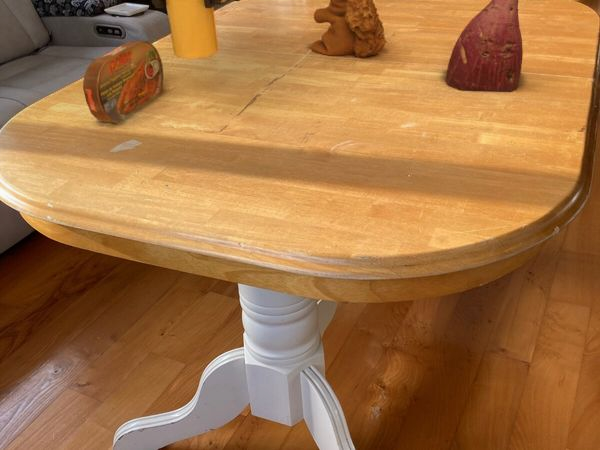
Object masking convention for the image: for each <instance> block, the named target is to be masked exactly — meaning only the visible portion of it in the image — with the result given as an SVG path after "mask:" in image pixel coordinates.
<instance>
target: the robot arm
mask: <svg viewBox="0 0 600 450" xmlns="http://www.w3.org/2000/svg"><path fill="white" fill-rule="evenodd" d="M230 1H231V0H204V4H205V8H213V9H214V7H215V6H220V5H224V4H227V3H228V2H230ZM233 1H235V2H240V1H241V0H233ZM151 4H152V5H153V6H154V8H155V9H162V8H164V7H165V6H166V1H165V0H151Z"/></svg>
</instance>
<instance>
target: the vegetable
mask: <svg viewBox="0 0 600 450" xmlns="http://www.w3.org/2000/svg"><path fill="white" fill-rule="evenodd" d="M522 38H523V37H522V32H521V28H520V19H519V0H491V1H489V3H488V4H487V5H486V6H485V7H484V8H483V9H481V11H480V12H478V13H477V14H475V16H474V17H473V18H471V20H469V22H468V23H467V25H466V26H465V27H464V28H463V30H462V31H461V33H460V34H459V36H458V38H457V40H456V42H455V44H454V46H453V48H452V51H451V54H450V57H449V61H448V65H447V69H446V70H447V71H446V77H445V84H447V86H449V87H451V88H453V89H456V90H459V91H462V92H486V93H487V92H490V93H493V92H494V93H512V92H515V91H516V90H517V89H518V87H519V83H520V79H521V73H522V65H523V58H524V57H523V56H524V55H523V54H524V49H523V39H522Z"/></svg>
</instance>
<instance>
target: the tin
mask: <svg viewBox="0 0 600 450" xmlns="http://www.w3.org/2000/svg"><path fill="white" fill-rule="evenodd" d="M160 55H161V54H159V51H158V50H157V48H156V47H155V46H154V45H153V43H151V42H149V41H147V40H140V41H129V42H125V43H123V44H122V45H119V46H118V47H116V48H115V49H112V50H110V51H109V52H108V53H107V52H106V54H103V55H102V56H100V57H98V58H96V59H94V60H93V61H91V62H90V64H89V65H88V67H87V68H86V70H85V73H84V76H83V80H82V82H83V84H82V90H83V93H84V98H85V101H86V104H87V107H88V109H89V111H90V114H91V115H92V116H93V118H96V120H98V121H100V122H103V123H114V124H120V122H121V121H122V120H123V118H124V117H127V116H128V115H129V114H130V113H133V112H134V111H135V110H137V109H138V108H140V107H141V106H143V105H144V104H145V103H147V102H149V101H150V100H151V99H152V98H154V97H156V96H159V95H160V94H161V93H162V89H163V85H164V66H163V62H162V58H161V56H160Z"/></svg>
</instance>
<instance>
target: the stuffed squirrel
mask: <svg viewBox="0 0 600 450" xmlns="http://www.w3.org/2000/svg"><path fill="white" fill-rule="evenodd" d="M379 16H380V15H379V13H378V8H377V7H376V4H375V2H374V0H330V1H329V3H328V6H327V7H322V8H321V7H319V8H317V9H316V10H314V12H313V19H314V22H315V23H317V24H324V23H329V24H330V25H329V26H328V28H327V30H326V31H325V32H324V33H323V34H322V35H321V39H319V40H315V41H314V42H312V43H311V44H310V49H311V51H313V52H315V53H318V54H322V55H324V56H325V55H326V56H334V57H335V56H347V55H353V56H354V57H357V58H367V57H369V56H375V55H377V54H379V53H380V52H382V51H383V49H384V48H385V45H386V44H388V41H387V40H386V37H385V34H384V33H385V29H384V26H383V21H381V20H380V17H379Z"/></svg>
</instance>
